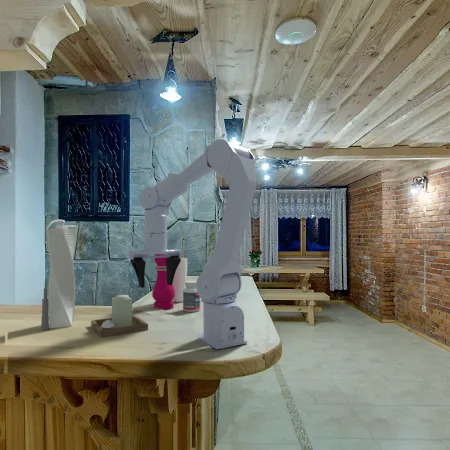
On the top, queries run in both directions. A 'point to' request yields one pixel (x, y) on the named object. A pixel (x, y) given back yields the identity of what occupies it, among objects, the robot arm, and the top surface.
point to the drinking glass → (180, 280)
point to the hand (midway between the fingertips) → (156, 285)
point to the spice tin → (122, 311)
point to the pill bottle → (191, 297)
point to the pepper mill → (162, 286)
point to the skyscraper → (60, 278)
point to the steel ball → (108, 325)
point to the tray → (136, 327)
